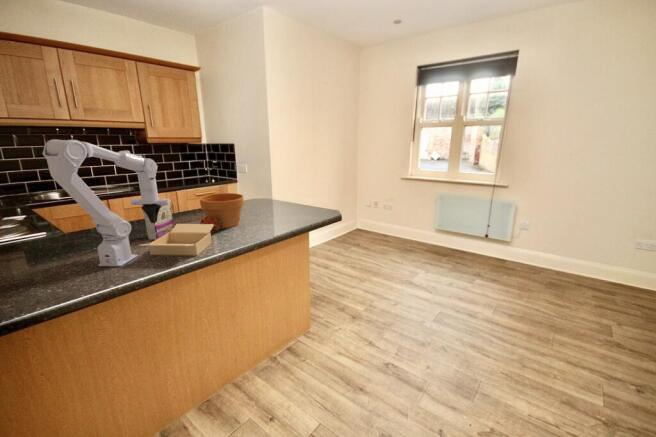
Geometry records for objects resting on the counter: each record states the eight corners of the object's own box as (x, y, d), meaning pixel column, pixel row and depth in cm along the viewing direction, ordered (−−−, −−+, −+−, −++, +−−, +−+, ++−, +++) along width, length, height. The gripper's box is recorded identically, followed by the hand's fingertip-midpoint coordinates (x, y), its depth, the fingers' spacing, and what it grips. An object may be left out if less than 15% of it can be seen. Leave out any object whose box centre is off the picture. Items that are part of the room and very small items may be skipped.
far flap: (170, 232, 122) (170, 232, 122) (208, 232, 122) (209, 233, 122) (176, 223, 127) (177, 224, 127) (213, 224, 127) (213, 224, 127)
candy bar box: (166, 232, 137) (161, 198, 132) (175, 232, 136) (170, 198, 131) (147, 239, 126) (141, 203, 122) (157, 240, 125) (151, 204, 121)
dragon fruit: (225, 233, 141) (200, 241, 134) (218, 220, 144) (194, 228, 138) (226, 222, 135) (199, 230, 128) (218, 209, 138) (192, 217, 131)
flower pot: (237, 231, 139) (235, 201, 135) (194, 230, 139) (191, 200, 135) (250, 219, 159) (248, 193, 155) (212, 218, 160) (210, 192, 156)
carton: (197, 255, 110) (195, 244, 109) (150, 255, 110) (148, 244, 108) (211, 242, 123) (210, 232, 122) (169, 242, 123) (168, 232, 122)
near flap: (193, 244, 108) (193, 245, 108) (150, 243, 108) (150, 245, 108) (185, 245, 102) (185, 246, 102) (139, 244, 102) (139, 245, 102)
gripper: (172, 187, 116) (176, 219, 120) (136, 187, 116) (142, 219, 120) (162, 190, 109) (167, 224, 113) (124, 190, 109) (131, 224, 113)
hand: (154, 222), depth 116 cm, fingers closed
